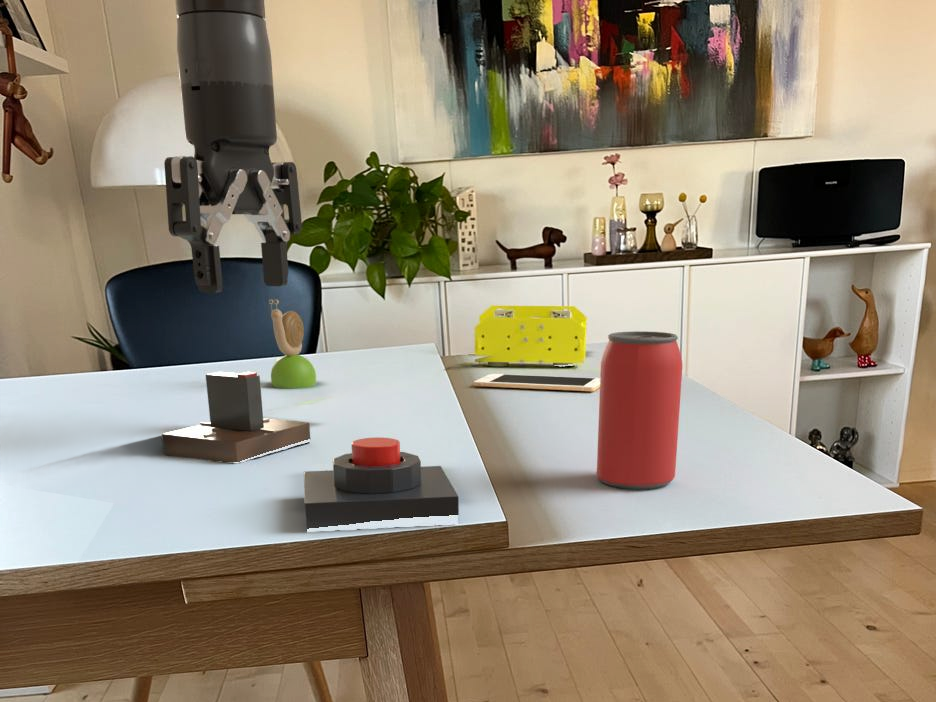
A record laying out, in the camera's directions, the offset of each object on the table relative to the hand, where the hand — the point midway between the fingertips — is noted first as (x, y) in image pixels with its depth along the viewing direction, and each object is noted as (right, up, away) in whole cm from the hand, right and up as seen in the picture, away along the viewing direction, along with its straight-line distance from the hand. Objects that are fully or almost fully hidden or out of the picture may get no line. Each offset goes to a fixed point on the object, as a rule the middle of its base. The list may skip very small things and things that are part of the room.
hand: (244, 288), depth 92 cm
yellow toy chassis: (+28, +10, +63) cm, 70 cm away
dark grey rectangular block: (-3, -11, +9) cm, 14 cm away
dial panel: (-3, -12, +9) cm, 16 cm away
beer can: (+34, -18, -4) cm, 39 cm away
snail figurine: (-2, -2, +36) cm, 36 cm away
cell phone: (+29, +2, +45) cm, 54 cm away
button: (+13, -18, -14) cm, 26 cm away
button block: (+13, -21, -12) cm, 28 cm away
